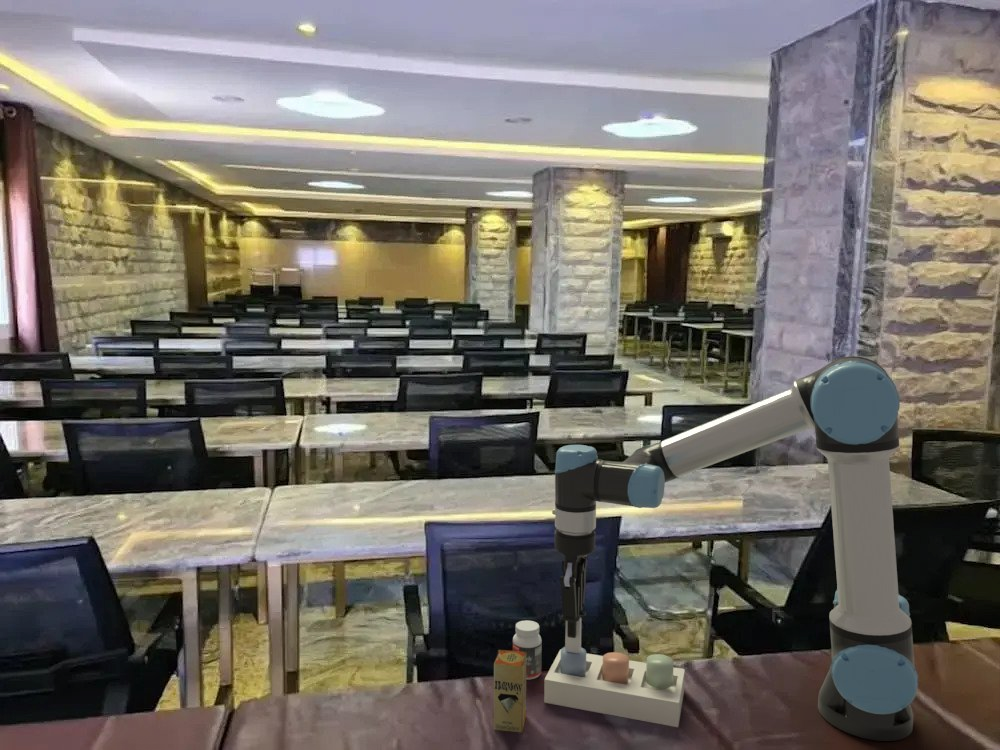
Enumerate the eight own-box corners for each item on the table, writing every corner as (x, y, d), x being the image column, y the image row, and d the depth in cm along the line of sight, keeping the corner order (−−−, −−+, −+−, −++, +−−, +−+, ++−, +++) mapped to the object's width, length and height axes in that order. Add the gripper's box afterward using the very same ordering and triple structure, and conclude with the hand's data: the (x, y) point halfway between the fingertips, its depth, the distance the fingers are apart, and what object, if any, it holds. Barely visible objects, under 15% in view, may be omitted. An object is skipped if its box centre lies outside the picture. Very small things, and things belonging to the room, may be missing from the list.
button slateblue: (588, 667, 140) (588, 647, 140) (583, 680, 136) (583, 659, 135) (563, 663, 142) (564, 644, 141) (557, 676, 137) (557, 655, 137)
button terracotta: (630, 674, 138) (630, 654, 137) (626, 687, 133) (626, 667, 133) (604, 670, 139) (605, 650, 139) (600, 683, 135) (600, 662, 134)
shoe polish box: (498, 713, 131) (498, 649, 130) (526, 716, 131) (526, 651, 129) (493, 729, 127) (493, 663, 125) (522, 732, 126) (522, 666, 124)
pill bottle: (507, 676, 144) (507, 628, 143) (520, 663, 149) (520, 616, 148) (533, 683, 141) (534, 634, 140) (546, 670, 146) (546, 622, 145)
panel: (684, 691, 139) (684, 669, 138) (678, 727, 127) (678, 702, 127) (560, 670, 146) (560, 649, 146) (544, 702, 135) (544, 679, 134)
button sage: (674, 677, 135) (674, 656, 135) (671, 690, 131) (672, 669, 130) (647, 672, 137) (648, 652, 136) (644, 685, 132) (644, 664, 132)
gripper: (563, 516, 143) (561, 632, 146) (546, 538, 131) (544, 663, 133) (601, 520, 141) (599, 638, 143) (587, 543, 128) (585, 670, 131)
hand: (573, 650), depth 138 cm, fingers closed
